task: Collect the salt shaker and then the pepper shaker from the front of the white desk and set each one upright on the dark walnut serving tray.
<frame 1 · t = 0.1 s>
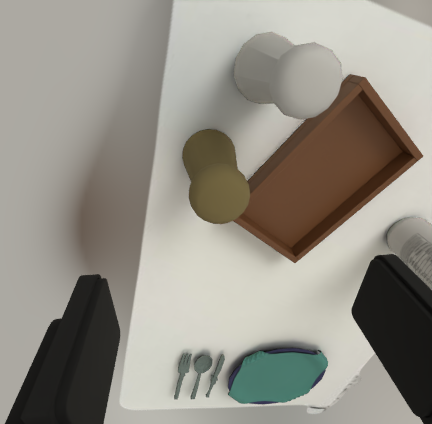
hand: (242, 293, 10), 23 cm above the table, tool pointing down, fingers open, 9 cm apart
salt shaker: (258, 67, 28), on the table
tray: (313, 177, 35), on the table
energy drink can: (402, 230, 41), on the table
pepper shaker: (209, 155, 32), on the table
cutlery set: (251, 368, 56), on the table
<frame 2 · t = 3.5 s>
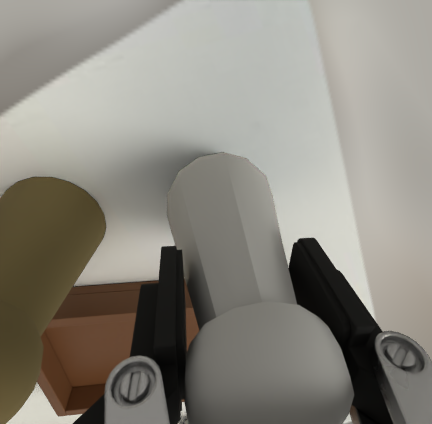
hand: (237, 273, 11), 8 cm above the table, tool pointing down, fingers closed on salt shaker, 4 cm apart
salt shaker: (215, 184, 18), on the table, touching gripper
tray: (167, 332, 24), on the table
pepper shaker: (56, 219, 18), on the table
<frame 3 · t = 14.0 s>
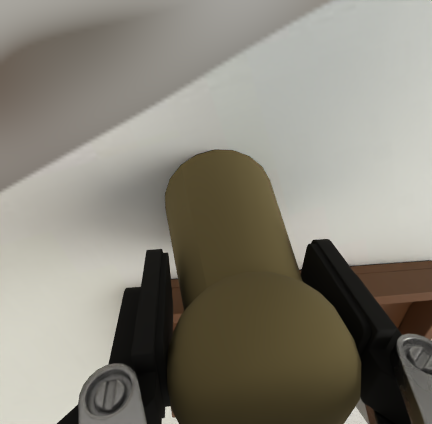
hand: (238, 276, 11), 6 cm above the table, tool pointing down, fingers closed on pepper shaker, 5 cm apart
tray: (289, 327, 23), on the table
pepper shaker: (218, 199, 16), on the table, touching gripper
when the fingers open (7 cm above the table, at t = 19.8 s): pepper shaker stays where it is, resting on tray.
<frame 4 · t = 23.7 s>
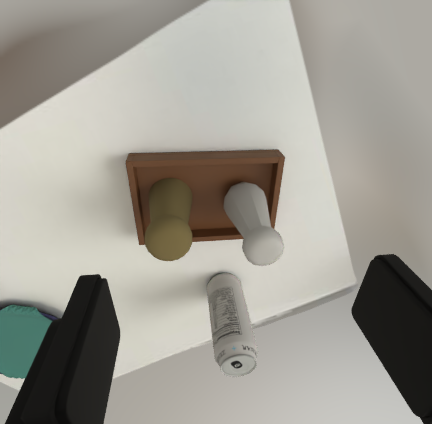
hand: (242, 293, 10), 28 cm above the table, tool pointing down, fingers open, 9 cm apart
salt shaker: (241, 194, 40), point 1 cm above the table, touching tray
tray: (205, 194, 40), on the table
energy drink can: (223, 282, 50), on the table
pepper shaker: (170, 197, 39), point 1 cm above the table, touching tray
cutlery set: (5, 322, 49), on the table
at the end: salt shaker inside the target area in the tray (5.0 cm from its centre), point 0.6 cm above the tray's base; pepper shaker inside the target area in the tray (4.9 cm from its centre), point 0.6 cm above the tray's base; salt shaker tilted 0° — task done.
